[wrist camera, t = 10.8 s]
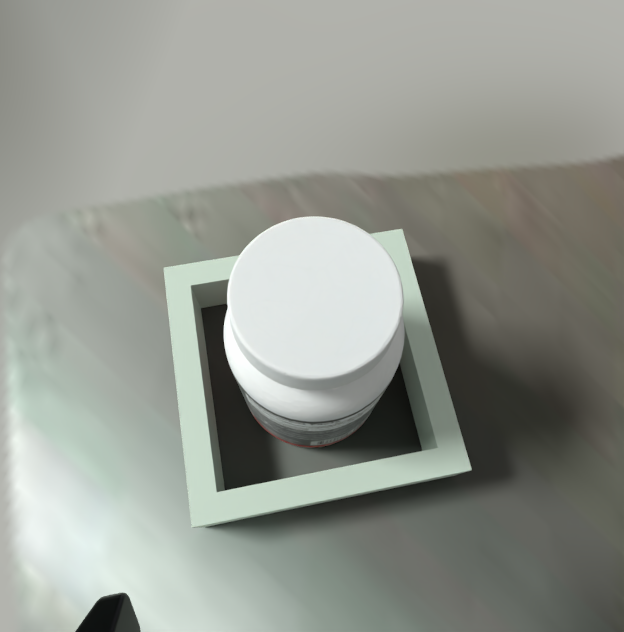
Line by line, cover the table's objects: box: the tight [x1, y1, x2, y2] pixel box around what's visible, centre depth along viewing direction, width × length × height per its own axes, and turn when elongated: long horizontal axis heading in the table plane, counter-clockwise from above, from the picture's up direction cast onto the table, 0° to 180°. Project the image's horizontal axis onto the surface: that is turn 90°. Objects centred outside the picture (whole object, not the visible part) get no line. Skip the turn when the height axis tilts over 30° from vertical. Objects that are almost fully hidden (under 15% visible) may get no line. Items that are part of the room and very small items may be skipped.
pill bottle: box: [224, 217, 405, 448], centre depth 19 cm, size 6×6×10 cm
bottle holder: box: [164, 229, 472, 528], centre depth 22 cm, size 10×10×2 cm
